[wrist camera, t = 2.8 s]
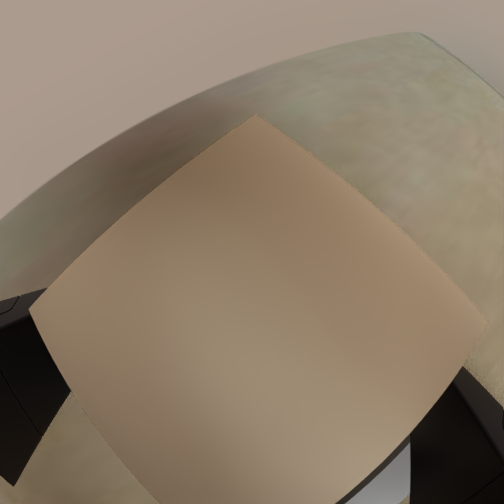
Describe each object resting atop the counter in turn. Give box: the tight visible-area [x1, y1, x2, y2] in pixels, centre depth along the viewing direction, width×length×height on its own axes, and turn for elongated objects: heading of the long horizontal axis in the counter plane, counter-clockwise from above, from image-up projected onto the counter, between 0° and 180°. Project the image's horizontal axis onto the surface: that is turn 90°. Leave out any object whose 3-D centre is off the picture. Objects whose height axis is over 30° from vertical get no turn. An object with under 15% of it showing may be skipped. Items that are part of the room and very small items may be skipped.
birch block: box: [29, 114, 489, 504], centre depth 9 cm, size 5×5×11 cm
